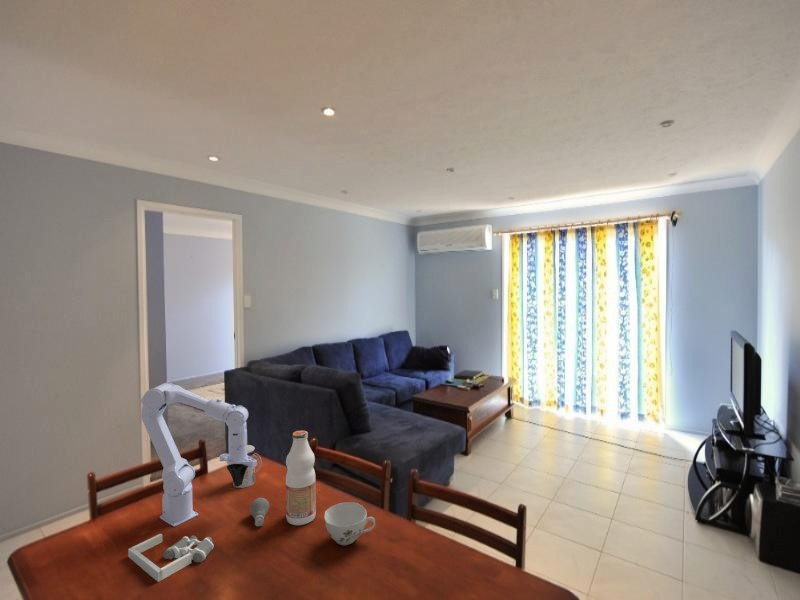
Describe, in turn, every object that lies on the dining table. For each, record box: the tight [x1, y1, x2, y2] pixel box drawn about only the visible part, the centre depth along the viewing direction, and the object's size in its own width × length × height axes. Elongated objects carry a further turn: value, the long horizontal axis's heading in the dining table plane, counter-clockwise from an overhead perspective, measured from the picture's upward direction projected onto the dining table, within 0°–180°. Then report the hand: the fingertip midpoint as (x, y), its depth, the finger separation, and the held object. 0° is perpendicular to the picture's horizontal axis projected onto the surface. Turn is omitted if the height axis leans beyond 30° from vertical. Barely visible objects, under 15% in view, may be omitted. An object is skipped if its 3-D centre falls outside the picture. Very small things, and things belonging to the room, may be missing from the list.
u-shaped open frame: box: [127, 533, 192, 583], centre depth 109 cm, size 17×8×2 cm, turn 56°
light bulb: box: [249, 497, 270, 528], centre depth 128 cm, size 6×6×10 cm
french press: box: [232, 420, 263, 489], centre depth 152 cm, size 10×12×25 cm
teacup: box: [323, 501, 376, 546], centre depth 117 cm, size 15×12×8 cm
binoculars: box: [162, 535, 215, 564], centre depth 112 cm, size 12×8×4 cm, turn 82°
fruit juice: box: [285, 430, 317, 526], centre depth 129 cm, size 9×9×28 cm
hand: (238, 485), depth 131 cm, fingers closed
